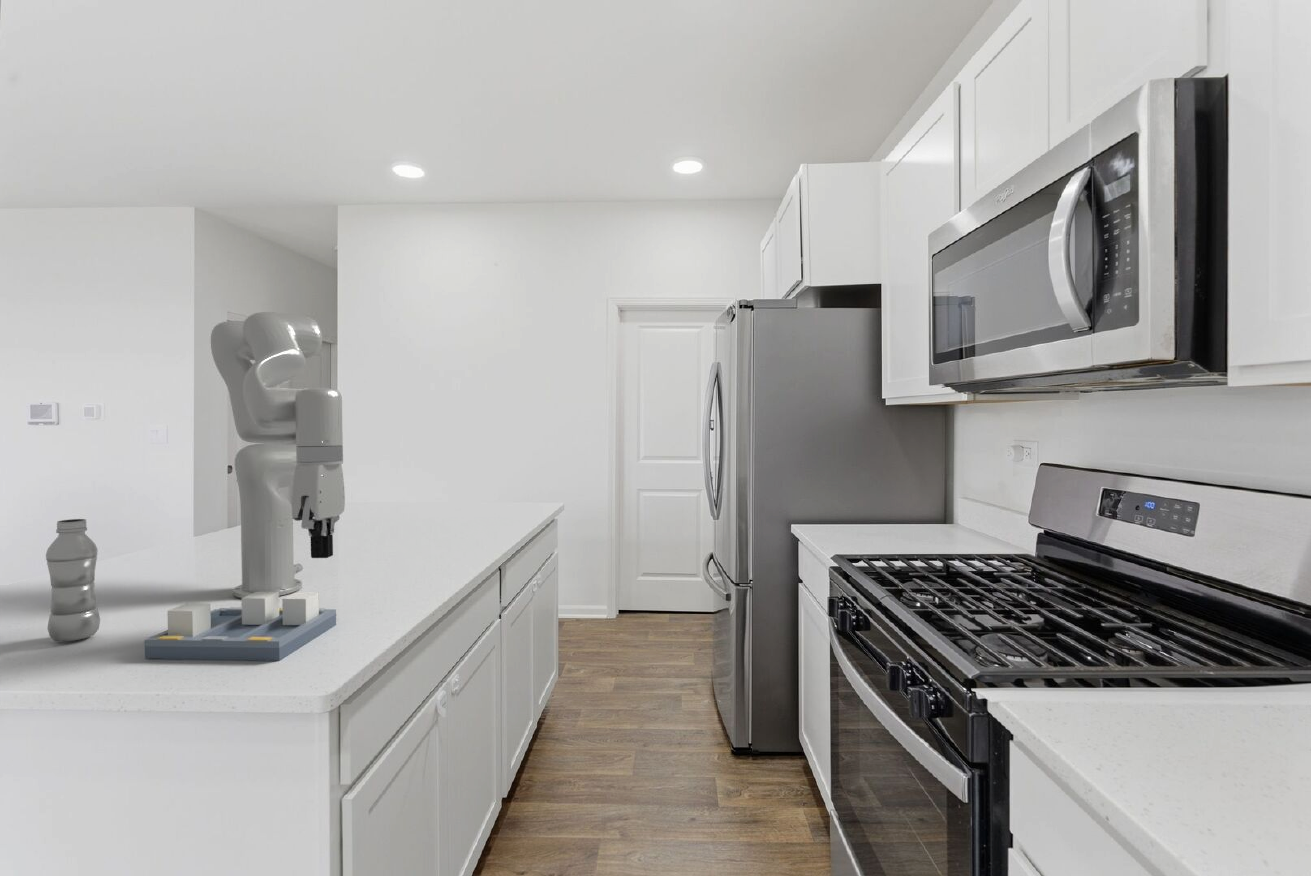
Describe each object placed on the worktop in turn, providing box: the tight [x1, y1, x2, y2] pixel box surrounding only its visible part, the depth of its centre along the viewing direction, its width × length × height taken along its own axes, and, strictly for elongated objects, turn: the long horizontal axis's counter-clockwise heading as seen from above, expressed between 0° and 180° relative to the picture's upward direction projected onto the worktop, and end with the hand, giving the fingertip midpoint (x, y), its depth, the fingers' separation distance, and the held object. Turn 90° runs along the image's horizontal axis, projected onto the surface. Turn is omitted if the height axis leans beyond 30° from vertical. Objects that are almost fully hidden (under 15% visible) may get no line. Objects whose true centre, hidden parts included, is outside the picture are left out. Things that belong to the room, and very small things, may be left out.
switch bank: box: [144, 606, 337, 662], centre depth 107 cm, size 17×21×3 cm
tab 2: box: [241, 592, 280, 625], centre depth 111 cm, size 4×4×4 cm
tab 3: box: [281, 591, 320, 625], centre depth 111 cm, size 4×4×4 cm
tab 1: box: [167, 602, 211, 637], centre depth 103 cm, size 4×4×4 cm
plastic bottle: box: [45, 518, 101, 642], centre depth 107 cm, size 6×7×20 cm
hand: (322, 556), depth 116 cm, fingers closed
